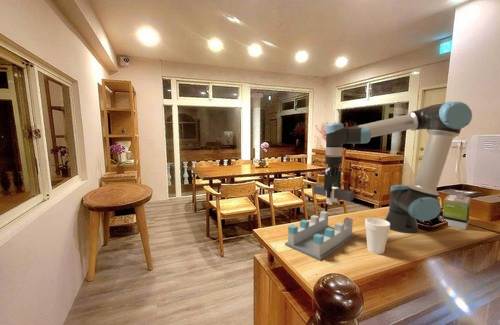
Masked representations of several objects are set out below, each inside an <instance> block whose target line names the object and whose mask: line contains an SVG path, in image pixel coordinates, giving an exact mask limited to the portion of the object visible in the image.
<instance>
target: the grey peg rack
mask: <svg viewBox="0 0 500 325" xmlns="http://www.w3.org/2000/svg"><path fill="white" fill-rule="evenodd" d="M353 222H354V219H353V218H350V217H347V216H346V217H345V218H343V222H339V221H337V222H336V223H334V227H333V226H329V211H325V210H322V211H320V212H319V216H318V215H315V214H313V215H311V216H310V220H306V219H301V220H300V221H299V227H298V225H295V224H290V225H289V226H288V227H287V241H286V242H284V245H285V246H286V247H288V248H291V249H292V250H295V251H297V252H300V253H302V254H305V255H306V256H308V257H311V258H313V259H316V260H318V261H319V262H321V261H322V260H323V259H325V258H326V257H328V256H329V255H331V254H332V253H333V252H335V251H337V250H338V249H339V248H340V247H342V246H343V245H344V244H346V243H348V242H349V241H351V240H352V239H354V238H355V236H356V234H355V233H353V224H354V223H353Z"/></svg>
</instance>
